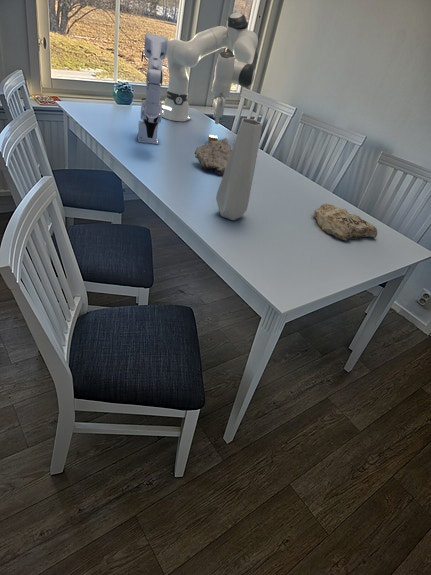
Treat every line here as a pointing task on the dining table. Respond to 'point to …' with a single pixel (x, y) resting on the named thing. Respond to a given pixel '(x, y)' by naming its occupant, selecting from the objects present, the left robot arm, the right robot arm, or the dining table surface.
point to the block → (212, 138)
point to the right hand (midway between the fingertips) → (215, 120)
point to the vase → (239, 171)
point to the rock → (214, 155)
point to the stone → (343, 223)
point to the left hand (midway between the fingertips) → (150, 134)
